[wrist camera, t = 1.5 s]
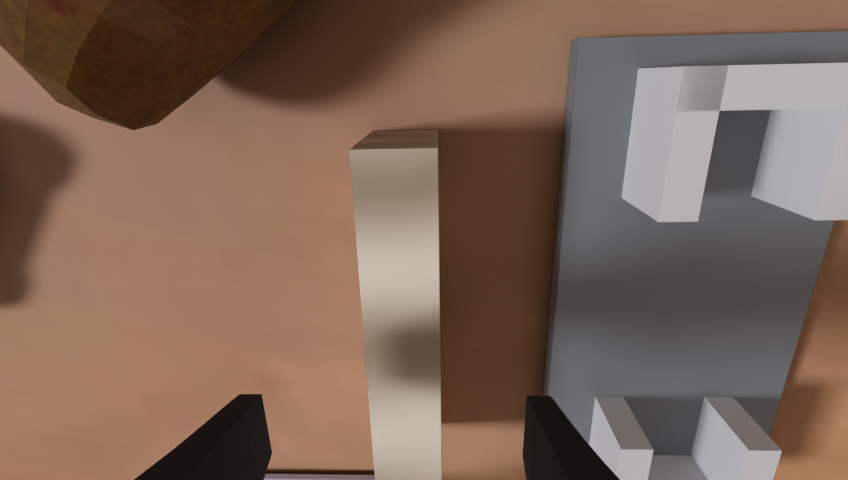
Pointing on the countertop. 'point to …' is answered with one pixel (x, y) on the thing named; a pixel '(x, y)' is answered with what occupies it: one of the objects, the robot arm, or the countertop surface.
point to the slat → (400, 297)
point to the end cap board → (692, 242)
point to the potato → (130, 50)
